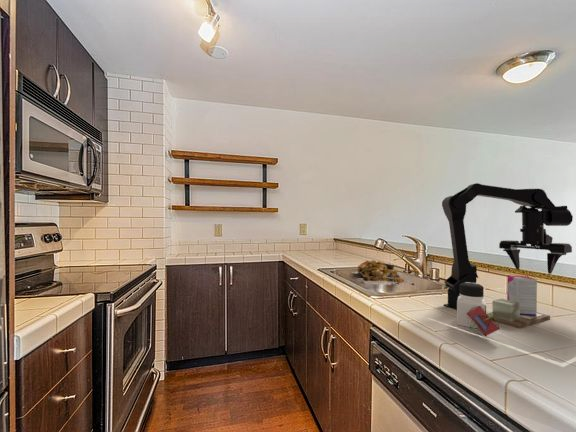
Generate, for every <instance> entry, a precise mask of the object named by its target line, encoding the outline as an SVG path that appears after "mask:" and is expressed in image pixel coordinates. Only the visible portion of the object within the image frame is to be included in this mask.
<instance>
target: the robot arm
mask: <svg viewBox="0 0 576 432" xmlns="http://www.w3.org/2000/svg"><path fill="white" fill-rule="evenodd" d="M477 196H478V197H483V198H492V199H498V200H504V201H509V202H511V203H514V204H516V205H520V206H519V208H517V209H515V211H514V213H515V214H517V213H518V214H519V213H520V214H521V225H522V226H521V228H520V229H519V232H521V234H522V235H521V236H522V238H521V240H520V241H519V240H508V239H507V240H501V241H500V242H499V245H498V248H499V249H502V250H503V252H505V253H506V254H507V256H509V258H510V260H511V262H512V263H513V266H514V267H515V269H516V270H517V271H518V270H520V265H521V264H520V262H521V261H520V253H521V249H529V250H531V249H532V250H544V251H548V252H547V253H546V256H547V258H546V259H547V260H546V261H547V265H546V266H547V273H548V274H549V275H551V274H552V273H553V271H554V268H555V266H556V264H557V262H558V261H559V259H560V258H561V257H562V256H566V255H567V254H568V253H569V254H570V253H573V246H572V245H571V243H564V242H562V243H561V242H553V237H552V236H551V235H549V234H547V230H546V228H544V227H545V226H548V227H552V226H553V227H561V226H562V227H567V226H570V224H572V222H573V219H574V218H573V217H574V216H573V214H572V212H571V211H570V210H569V209H568V206H567V205H555V203H554V202H553V201H551V199H550V198H549V197H548V195H547V193H546V192H545V190H544V189H542V188H518V189H517V188H511V187H510V188H509V187H508V188H507V187H502V186H495V185H494V186H493V185H486V184H481V183H477V182H476V183H472V184H469V185H468V186H467V187H466V188H463V189H462V190H460V191H458V192H457V193H455V194H454V195H449V196H446V197H444V199H443V200H442V201H441V207H442V209H443V213H444V215H445V217H446V219H447V220H448V224H449V232H450V239H451V240H450V241H451V248H452V255H453V263H452V266H451V272H450V273H451V274H450V276H449V277H448V278H447V279H445V280H444V285H445V287H446V288H447V303H444V304H443V306H444V307H446V308H450V309H454V310H457V300H458V296H460V284H461V283H465V282H470V283H477V281H478V280H477V279H479V276H478V271H477V270H478V268H477V266H476V265H474V264H471V262H470V259H469V251H468V246H467V238H466V229H465V216H466V213H467V205H468V203H470V202H472V201H473V200H474V199H475V198H477Z"/></svg>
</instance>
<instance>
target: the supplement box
mask: <svg viewBox="0 0 576 432" xmlns="http://www.w3.org/2000/svg"><path fill="white" fill-rule="evenodd" d="M506 287H507V292H506V294H507V295H506V296H507V297H506V300H511V301H515V302H520V315H526V316H537V312H538V311H537V308H538V307H537V305H538V300H537V296H538V294H537V293H538V280H537V279H536V278H534V277H529V276H526V275H525V276H524V275H507V286H506Z"/></svg>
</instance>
